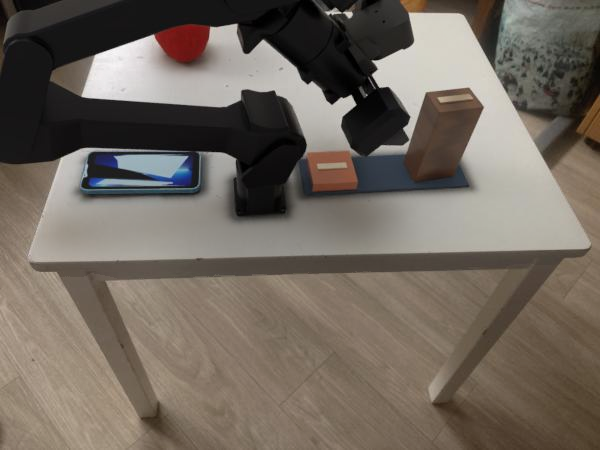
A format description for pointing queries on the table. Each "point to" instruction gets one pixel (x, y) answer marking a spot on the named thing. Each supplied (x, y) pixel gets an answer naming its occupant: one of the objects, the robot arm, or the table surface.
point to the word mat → (384, 176)
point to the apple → (184, 42)
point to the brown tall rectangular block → (442, 133)
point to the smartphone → (141, 172)
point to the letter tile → (331, 171)
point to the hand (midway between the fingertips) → (391, 116)
